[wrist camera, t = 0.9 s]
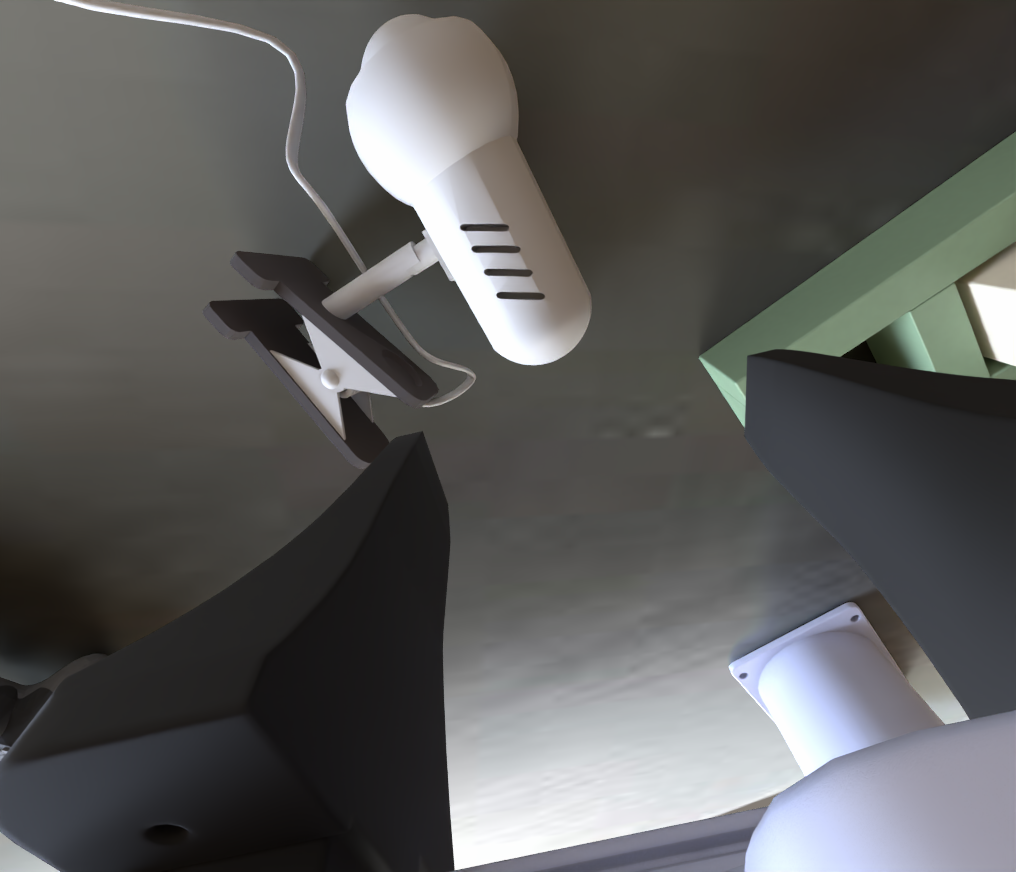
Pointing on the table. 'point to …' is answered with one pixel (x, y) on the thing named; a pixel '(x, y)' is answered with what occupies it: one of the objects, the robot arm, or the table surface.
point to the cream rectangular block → (993, 304)
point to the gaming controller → (30, 700)
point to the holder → (894, 287)
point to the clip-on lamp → (448, 235)
